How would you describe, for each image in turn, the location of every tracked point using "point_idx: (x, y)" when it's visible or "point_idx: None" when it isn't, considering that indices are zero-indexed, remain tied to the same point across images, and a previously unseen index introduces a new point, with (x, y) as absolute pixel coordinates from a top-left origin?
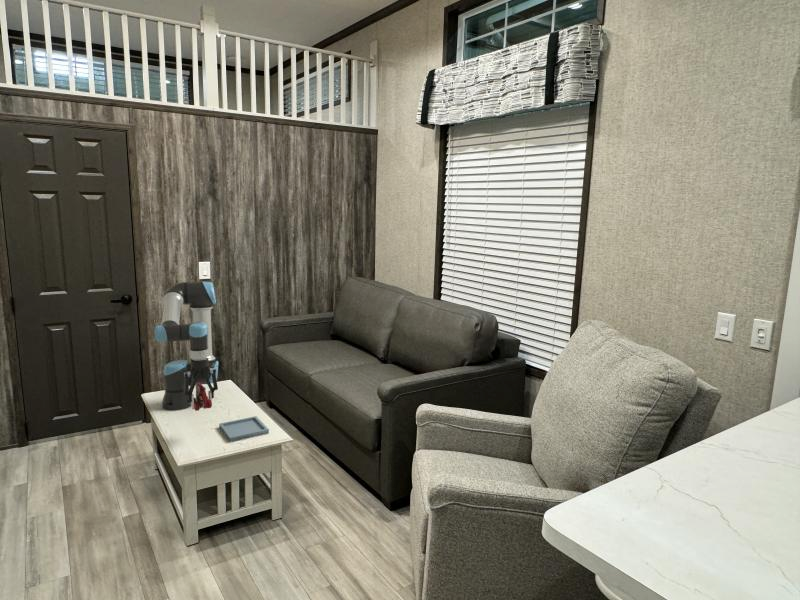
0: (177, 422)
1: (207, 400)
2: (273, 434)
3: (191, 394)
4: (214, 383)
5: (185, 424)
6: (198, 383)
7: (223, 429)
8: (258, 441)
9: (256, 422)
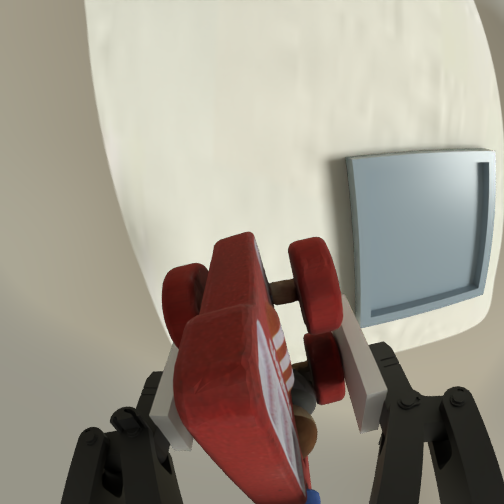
0: (147, 33)
1: (317, 398)
2: (479, 297)
3: (168, 458)
4: (442, 493)
5: (182, 62)
6: (242, 462)
7: (358, 237)
8: (429, 333)
9: (481, 192)
